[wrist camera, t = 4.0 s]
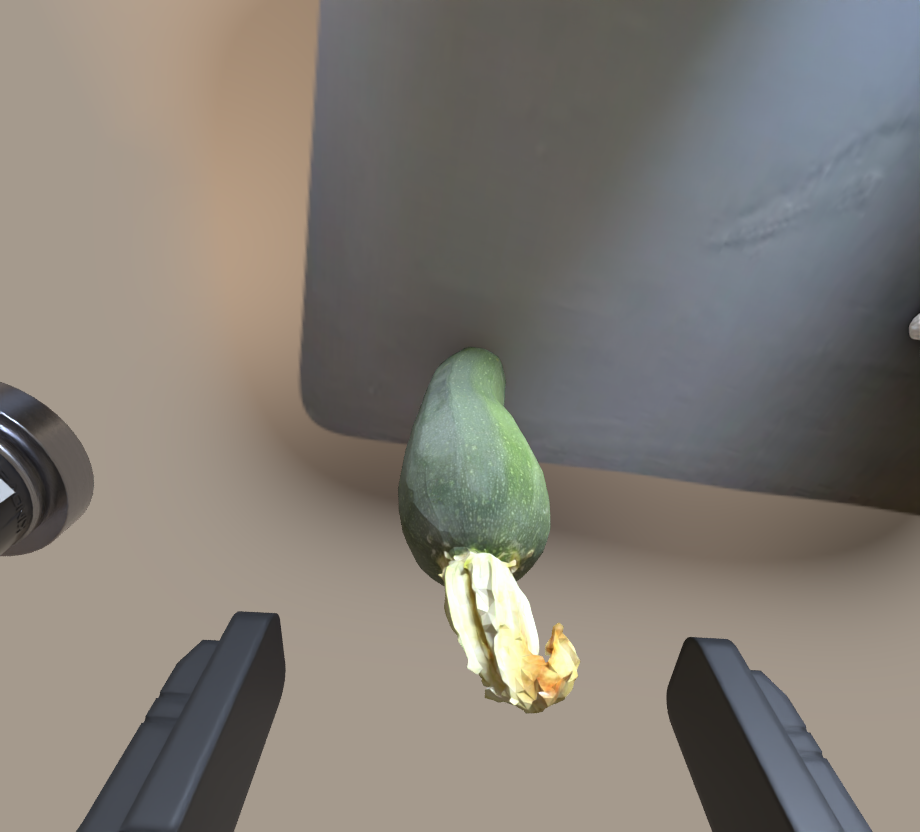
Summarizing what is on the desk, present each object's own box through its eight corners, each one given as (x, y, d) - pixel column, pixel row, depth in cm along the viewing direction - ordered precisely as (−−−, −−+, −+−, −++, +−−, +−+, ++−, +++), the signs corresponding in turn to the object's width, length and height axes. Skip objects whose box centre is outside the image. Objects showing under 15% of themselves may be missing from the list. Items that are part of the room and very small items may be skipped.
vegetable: (427, 393, 28) (362, 792, 10) (424, 315, 26) (338, 628, 8) (506, 393, 28) (593, 792, 10) (509, 315, 26) (624, 628, 8)
